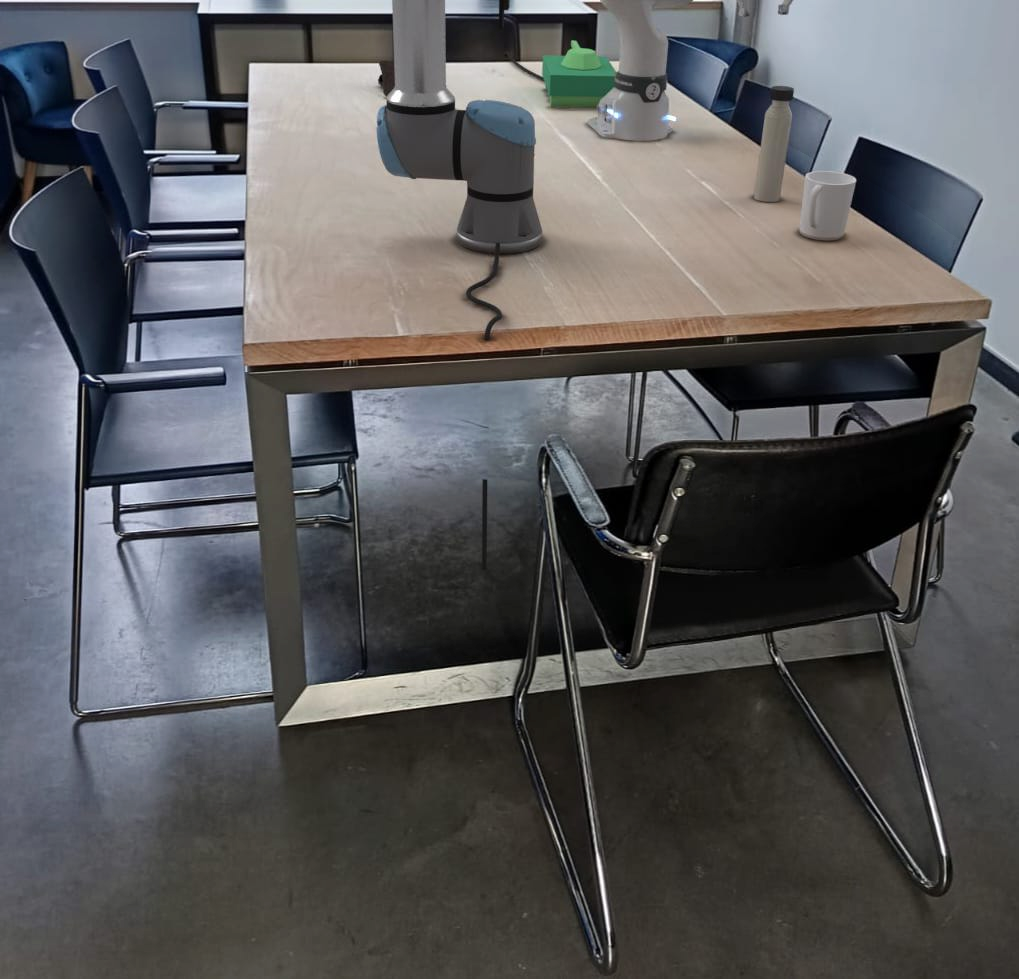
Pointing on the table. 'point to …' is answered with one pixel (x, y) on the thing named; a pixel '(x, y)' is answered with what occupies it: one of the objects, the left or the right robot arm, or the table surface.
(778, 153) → the bottle
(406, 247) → the table surface
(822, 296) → the table surface
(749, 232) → the table surface
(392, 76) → the axe head
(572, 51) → the toy tank
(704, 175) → the table surface
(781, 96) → the cap
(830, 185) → the mug
